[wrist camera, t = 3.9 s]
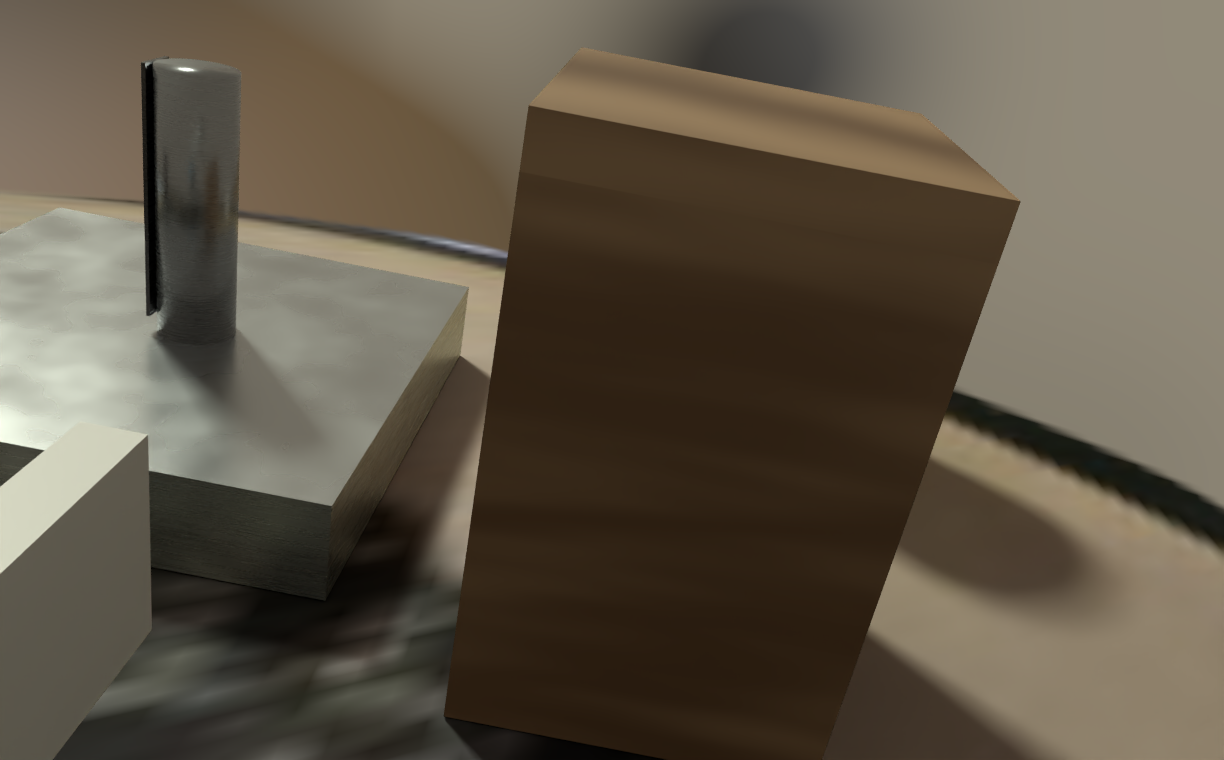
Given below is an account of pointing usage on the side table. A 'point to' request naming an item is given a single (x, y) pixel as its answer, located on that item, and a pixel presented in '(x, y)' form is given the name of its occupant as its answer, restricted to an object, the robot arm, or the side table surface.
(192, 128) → the joystick
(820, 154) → the wooden brick
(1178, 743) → the side table surface
